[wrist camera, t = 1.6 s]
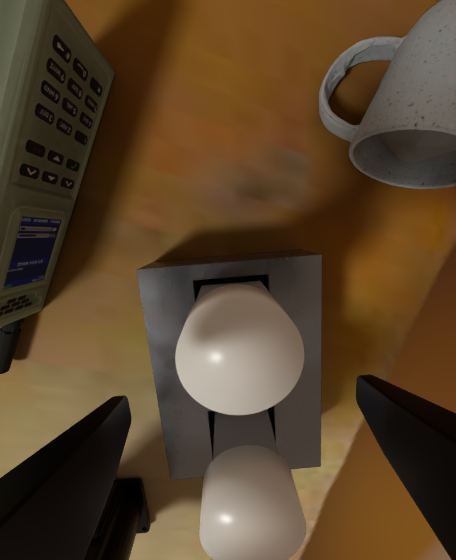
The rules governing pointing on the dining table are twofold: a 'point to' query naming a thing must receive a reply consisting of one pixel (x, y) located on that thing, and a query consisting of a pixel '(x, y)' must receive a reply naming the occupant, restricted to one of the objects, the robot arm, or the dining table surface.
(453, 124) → the block
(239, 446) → the knob
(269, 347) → the knob
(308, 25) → the dining table surface
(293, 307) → the mount
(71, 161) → the handheld radio
